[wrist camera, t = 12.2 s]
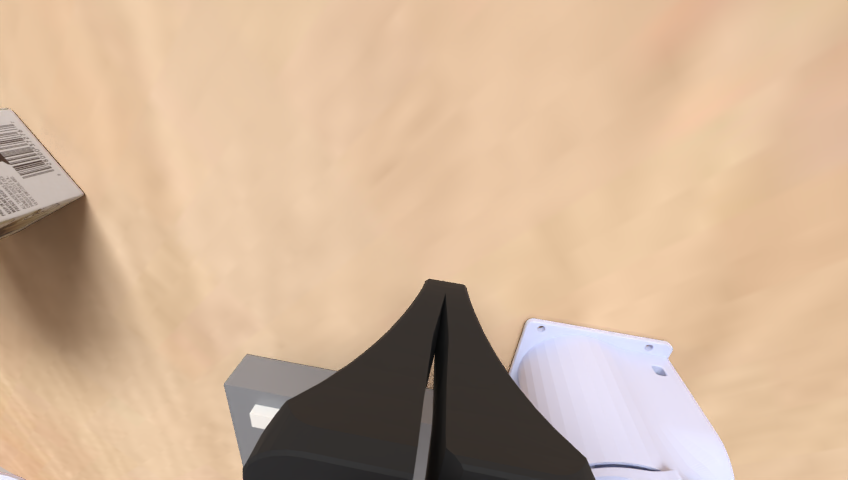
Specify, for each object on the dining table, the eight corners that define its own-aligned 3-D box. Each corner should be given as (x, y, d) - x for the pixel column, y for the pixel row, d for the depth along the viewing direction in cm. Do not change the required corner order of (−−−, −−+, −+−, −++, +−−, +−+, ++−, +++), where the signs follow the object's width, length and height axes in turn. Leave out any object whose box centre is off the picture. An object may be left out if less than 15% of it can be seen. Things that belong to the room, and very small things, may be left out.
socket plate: (460, 394, 28) (458, 440, 24) (434, 498, 35) (430, 544, 32) (246, 354, 29) (216, 393, 25) (266, 463, 36) (245, 504, 33)
